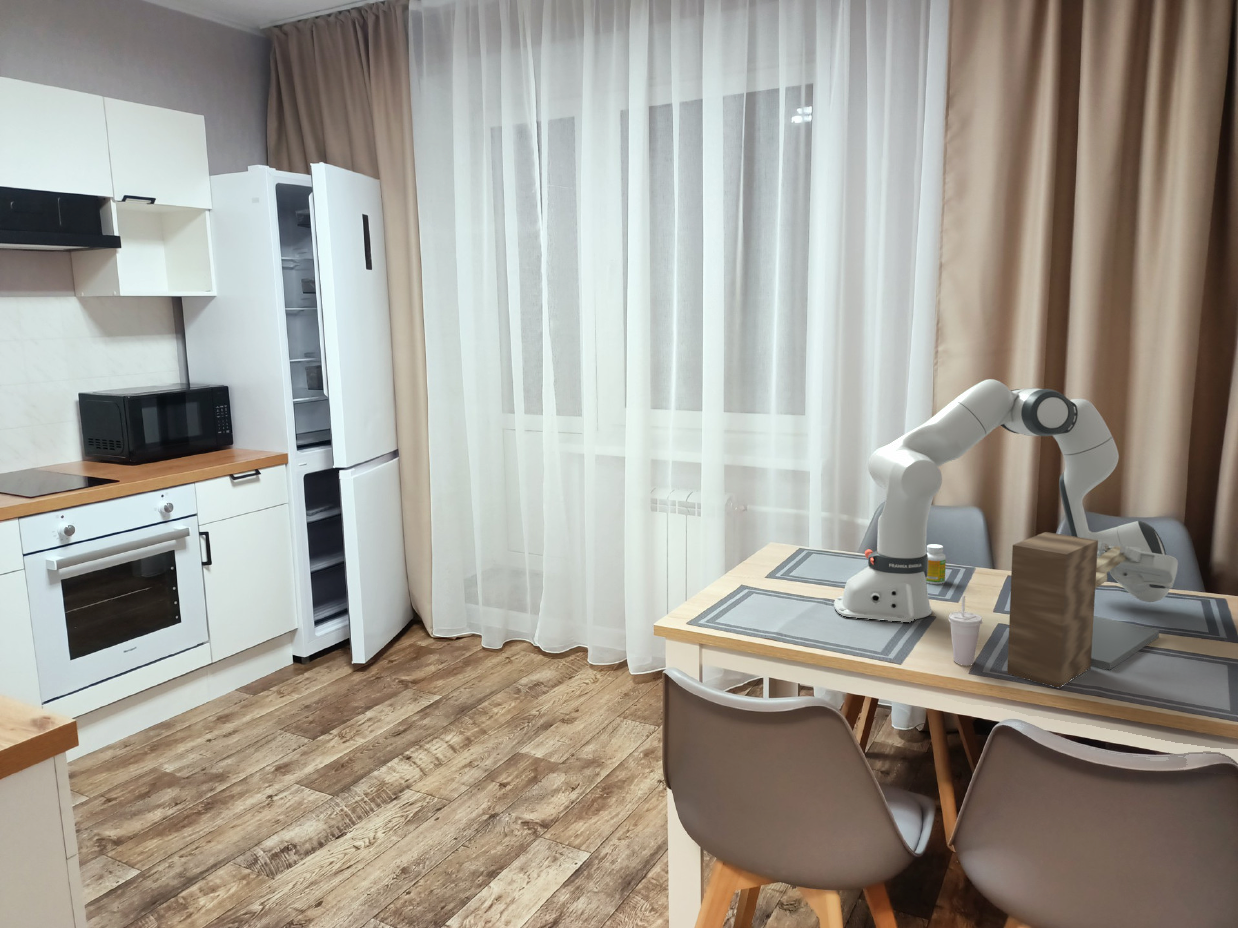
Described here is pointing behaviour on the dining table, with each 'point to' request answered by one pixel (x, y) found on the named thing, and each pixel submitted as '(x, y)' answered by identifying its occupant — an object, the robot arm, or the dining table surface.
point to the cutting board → (1117, 641)
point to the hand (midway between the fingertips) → (1112, 547)
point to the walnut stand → (1052, 607)
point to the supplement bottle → (936, 564)
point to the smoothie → (964, 635)
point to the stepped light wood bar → (1107, 564)
